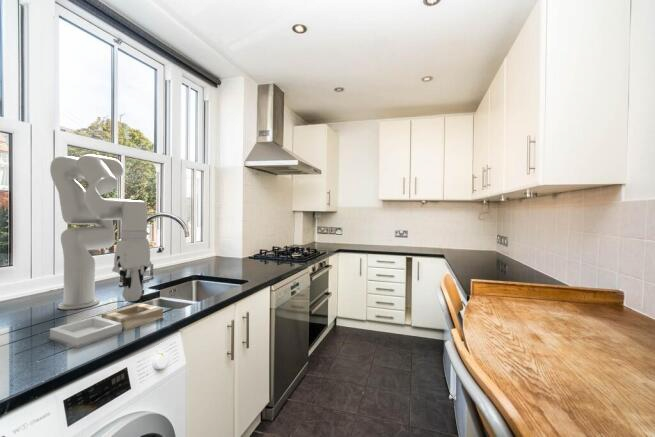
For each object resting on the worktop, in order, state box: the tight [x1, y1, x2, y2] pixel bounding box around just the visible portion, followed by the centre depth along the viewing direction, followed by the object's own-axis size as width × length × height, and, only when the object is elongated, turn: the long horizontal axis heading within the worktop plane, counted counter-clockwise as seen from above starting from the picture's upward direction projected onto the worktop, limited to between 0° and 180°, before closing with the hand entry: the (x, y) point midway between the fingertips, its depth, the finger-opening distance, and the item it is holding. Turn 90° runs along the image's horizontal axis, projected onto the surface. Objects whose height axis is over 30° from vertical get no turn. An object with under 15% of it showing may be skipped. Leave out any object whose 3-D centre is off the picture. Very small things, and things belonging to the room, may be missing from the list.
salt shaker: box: [121, 266, 143, 302], centre depth 101 cm, size 6×6×13 cm
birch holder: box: [101, 302, 164, 331], centre depth 101 cm, size 13×13×4 cm
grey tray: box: [49, 315, 123, 349], centre depth 88 cm, size 14×12×3 cm
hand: (132, 286), depth 101 cm, fingers closed on salt shaker, 3 cm apart
